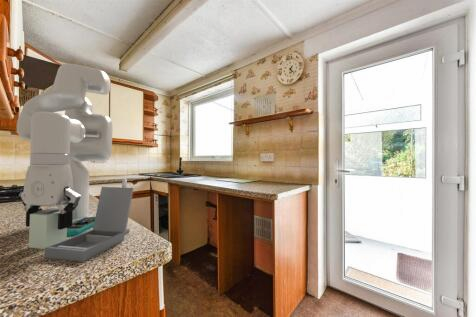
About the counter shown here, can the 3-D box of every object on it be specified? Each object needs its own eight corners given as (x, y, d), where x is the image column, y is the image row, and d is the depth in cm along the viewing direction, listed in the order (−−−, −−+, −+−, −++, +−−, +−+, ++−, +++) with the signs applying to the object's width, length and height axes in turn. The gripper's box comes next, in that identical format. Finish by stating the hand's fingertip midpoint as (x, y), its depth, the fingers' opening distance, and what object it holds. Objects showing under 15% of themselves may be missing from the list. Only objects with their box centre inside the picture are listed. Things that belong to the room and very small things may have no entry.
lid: (101, 186, 59) (104, 187, 60) (92, 229, 56) (96, 229, 57) (132, 187, 57) (134, 188, 58) (124, 231, 54) (127, 231, 55)
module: (28, 250, 49) (30, 211, 49) (50, 242, 54) (51, 207, 54) (45, 252, 48) (46, 212, 48) (66, 244, 53) (67, 208, 53)
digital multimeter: (105, 224, 71) (106, 215, 71) (76, 240, 56) (77, 229, 57) (84, 224, 70) (84, 216, 71) (48, 241, 56) (49, 230, 56)
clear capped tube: (116, 236, 58) (117, 179, 58) (122, 234, 60) (123, 178, 61) (123, 237, 58) (125, 179, 58) (129, 234, 60) (130, 178, 60)
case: (44, 261, 44) (44, 247, 44) (92, 240, 56) (92, 229, 56) (83, 265, 42) (83, 251, 42) (124, 242, 54) (124, 231, 54)
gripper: (5, 160, 49) (3, 228, 49) (64, 161, 46) (62, 234, 46) (40, 159, 56) (38, 219, 56) (92, 161, 54) (91, 224, 54)
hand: (49, 226), depth 51 cm, fingers open, 9 cm apart
